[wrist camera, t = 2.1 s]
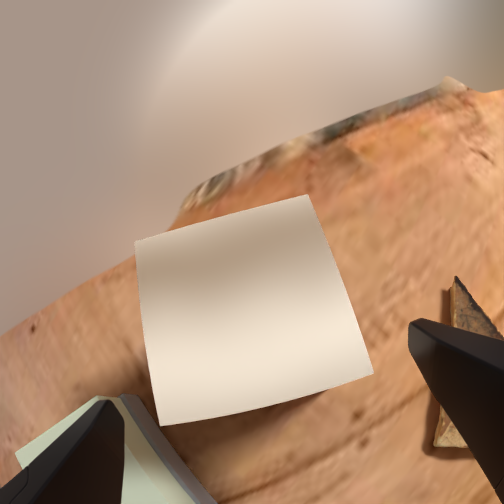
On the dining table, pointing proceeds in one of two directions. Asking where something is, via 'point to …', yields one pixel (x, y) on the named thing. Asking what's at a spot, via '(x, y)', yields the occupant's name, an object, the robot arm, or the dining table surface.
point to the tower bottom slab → (165, 450)
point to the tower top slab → (136, 460)
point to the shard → (470, 319)
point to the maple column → (245, 313)
